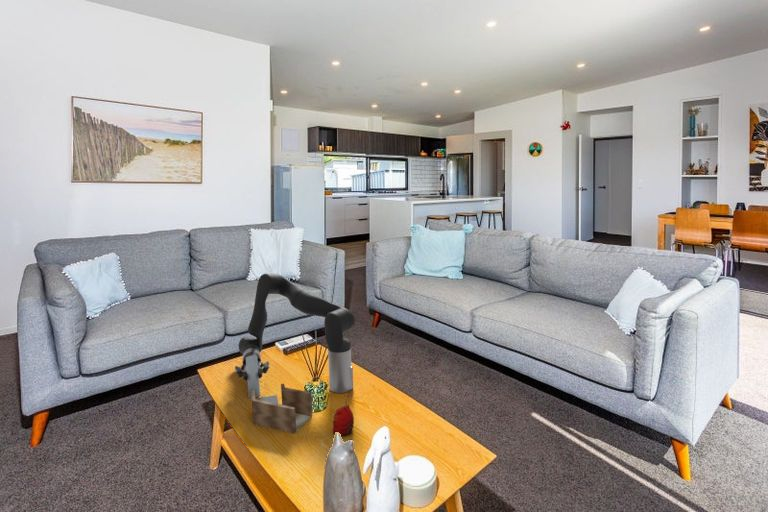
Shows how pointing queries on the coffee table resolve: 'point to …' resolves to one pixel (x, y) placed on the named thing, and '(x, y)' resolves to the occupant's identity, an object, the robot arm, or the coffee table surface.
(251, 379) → the baton
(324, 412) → the coffee table surface
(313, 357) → the coffee table surface
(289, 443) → the coffee table surface
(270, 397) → the pad
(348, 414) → the red clay folk toy
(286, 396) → the channel
